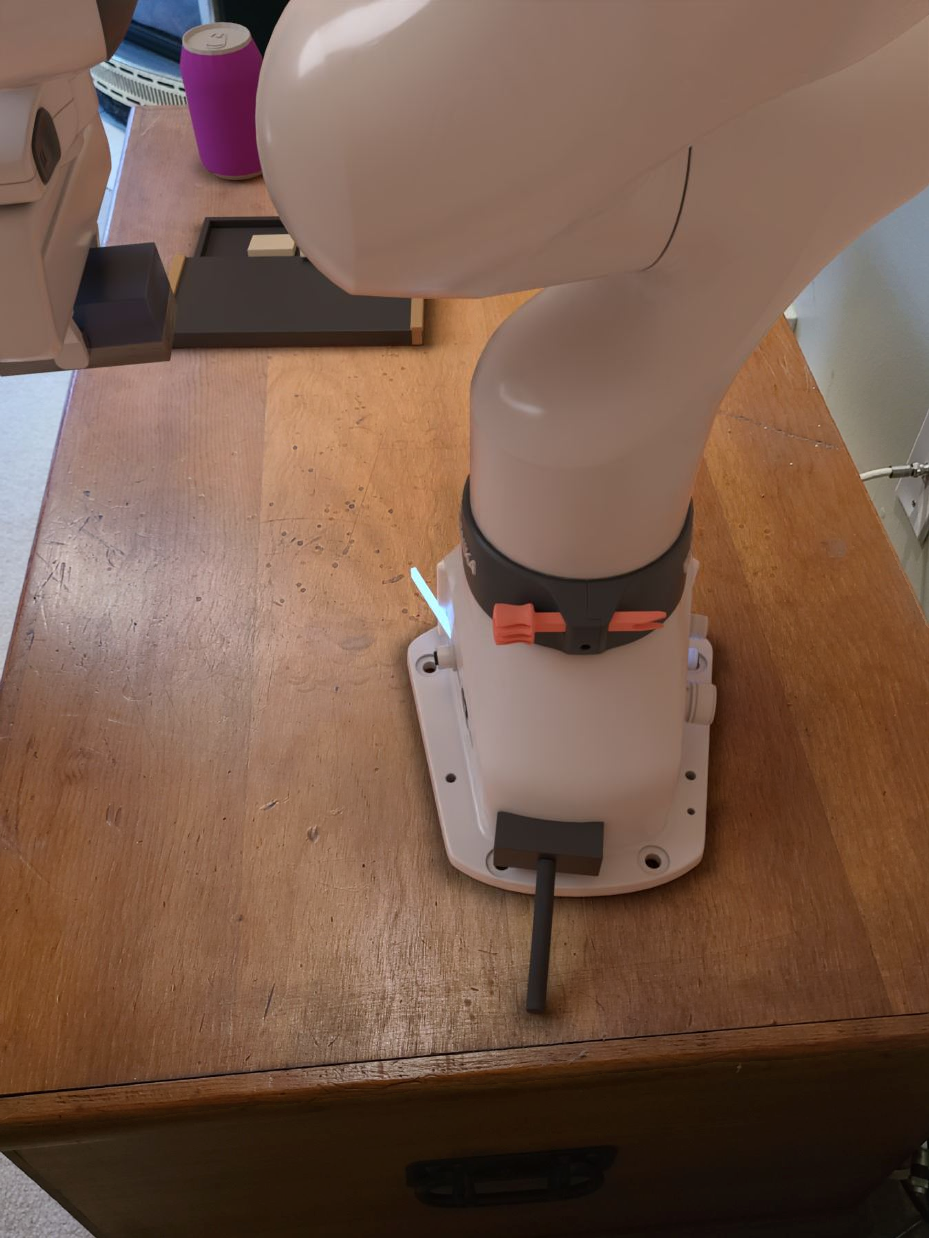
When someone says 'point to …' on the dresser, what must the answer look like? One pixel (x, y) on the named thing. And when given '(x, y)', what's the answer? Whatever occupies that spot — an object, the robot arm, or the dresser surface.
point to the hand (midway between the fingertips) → (85, 327)
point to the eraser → (119, 310)
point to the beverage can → (223, 97)
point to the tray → (235, 235)
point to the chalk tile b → (271, 245)
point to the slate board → (281, 306)
